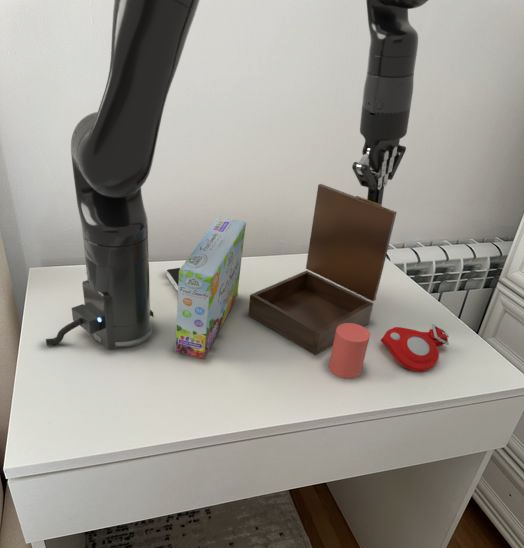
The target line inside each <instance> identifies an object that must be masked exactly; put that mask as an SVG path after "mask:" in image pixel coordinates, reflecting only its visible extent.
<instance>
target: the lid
mask: <svg viewBox="0 0 524 548" xmlns="http://www.w3.org/2000/svg"><path fill="white" fill-rule="evenodd" d="M396 217H397V211H395V210H393V209H390V208H387V207H384V206H383V204H382V205H381V204H378V203H375V202H373V201H370V200H367V198H364V197H361V196H359V195H352V194H350V193H347V192H344V191H341V190H338V189H336V188H333V187H331V186H328V185H326V184H322V183H319V184H317V192H316V197H315V204H314V211H313V217H312V225H311V232H310V236H309V237H310V238H309V244H308V251H307V259H306V264H305V269H306V270H307V271H309V272H311V273H313V274H315V275H317V276H319V277H321V278H323V279H325V280H327V281H329V282H331V283H333V284H335V285H337V286H339V287H341V288H344V289H346V290H348V291H350V292H352V293H354V294H356V295H358V296H360V297H362V298H364V299H366V300H368V301H370V302H375V301H376V298H377V294H378V291H379V287H380V283H381V279H382V276H383V275H382V274H383V270H384V266H385V262H386V258H387V255H388V254H387V253H388V249H389V246H390V241H391V238H392V234H393V230H394V226H395V220H396Z"/></svg>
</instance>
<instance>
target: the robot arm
mask: <svg viewBox="0 0 524 548" xmlns="http://www.w3.org/2000/svg"><path fill="white" fill-rule="evenodd" d="M200 1H201V0H114V1H113V11H112V26H111V44H110V45H111V47H110V60H109V61H110V62H109V71H108V75H107V80H106V84H105V88H104V92H103V95H102V97H101V101H100V104H99V107H98V109H97V111H95V112H92V113H89V114H87V115H85V116H84V117H83V118H81V119H80V121H78V123H77V124H76V126H75V127H74V130H73V131H72V135H71V140H70V155H71V166H72V173H73V181H74V188H75V196H76V205H77V209H78V215H79V219H80V225H81V231H82V241H83V250H84V251H83V252H84V260H85V261H84V262H85V269H86V278H87V279H86V280H84V281H82V282H81V283H82V284H81V285H82V294H83V300H84V301H83V302H84V303H82V304H79V305H76V306H73V307H71V314H72V321H71V322H70V323H68V324H66V325H64V326H63V327H62V328H61V329H59V331H57V332H58V333H57V334H56V336H55V337H53V338H46V339H45V343H46V346H55V345H57V344H60V343H61V342H62V341H63V339H64V337H65V335H66V334H67V333H69V332H71V331H72V330H74V329H75V328H79V326H80V327H81V328H82V329H83V330H85V331H86V332H87V334H88V335H89V336H91V337H92V338H93V339H95V341H96V342H98V343H99V344H100V345H102V346H103V347H104V348H106V349H107V350H110V351H111V350H113V349H116V348H128V347H134V346H137V345H140V344H142V343H144V342H145V341H147V340H148V339H149V338H150V336H151V335H152V331H153V330H152V326H153V325H152V318H154V316H155V315H154V311H153V310H151V288H150V287H151V286H150V264H149V263H150V259H149V258H150V256H149V223H148V222H149V221H148V216H147V212H146V208H145V204H144V199H143V194H142V187H143V186H144V184H145V183H146V181H147V179H148V177H149V175H150V173H151V169H152V166H153V162H154V157H155V152H156V147H157V142H158V137H159V132H160V127H161V123H162V118H163V114H164V109H165V105H166V101H167V98H168V95H169V91H170V90H171V89H170V88H171V86H172V83H173V81H174V78H175V75H176V72H177V69H178V66H179V63H180V61H181V57H182V54H183V52H184V48H185V45H186V41H187V39H188V35H189V32H190V30H191V27H192V25H193V21H194V19H195V16H196V13H197V10H198V7H199V5H200ZM365 2H366V3H365V4H366V13H367V24H368V31H369V37H370V39H369V40H370V41H369V48H368V59H367V68H366V76H365V80H364V84H363V92H362V104H361V114H360V122H359V133H360V135H361V136H362V137H363V139H364V144H363V147H362V150H361V151H362V153H361V154H362V157H361V158H360V160H359V162H358V161H354V162H353V163H352V166H351V169H352V170H353V171H352V172H353V173H354V174H355V177H356V179H357V181H358V183H359V184H360V186H361V187H364V188H367V197H366V199H367V200H370V201H373V202H375V203H378V204H381V205H382V206H383V199H384V192H385V187H386V186H387V185H388V181H392V180H393V178H394V177H395V174H396V172H397V170H398V168H399V166H400V164H401V161H402V159H403V157H404V155H405V154H406V151H407V147H406V146H404V145H401V144H400V140H401V139H403V138H404V137H405V136H406V135H407V134H408V133H407V132H408V127H409V121H410V113H411V107H412V100H413V93H414V77H415V70H416V69H415V68H416V62H417V56H418V49H419V34H418V31H417V30H416V29H415V28H414V27H413V26H412V25H411V23H410V21H409V10H413V9H416V8H419V7H422V6H423V5H425V4H426V3H428V2H429V0H365ZM151 317H152V318H151Z"/></svg>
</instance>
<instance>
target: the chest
mask: <svg viewBox="0 0 524 548" xmlns="http://www.w3.org/2000/svg"><path fill="white" fill-rule="evenodd" d="M248 305H249V306H248V316H249V317H250V318H251V319H253V320H255V321H257V322H259V323H261V324H262V325H263V326H265V327H267V328H269V329H270V330H272V331H274V332H276V333H277V334H278V335H280V336H282V337H284V338H286V339H288V340H289V341H291V342H293V343H294V344H296V345H298V346H299V347H301V348H303V349H304V350H305V351H307V352H309V353H311V354H313V355H314V356H317V355H318V354H321V353H322V352H323V351H325V350H327V349H329V348H330V347H333V343H334V338H335V333H336V329H337V327H338V326H339V325H341V324H344V323H354V324H358V325H361V326H363V327H365V326H366V325H368V324H369V323H370V319H371V315H372V312H373V307H374V302H373V301H371V300H369V299H367V298H365V297H363V296H361V295H359V294H357V293H355V292H353V291H351V290H349V289H346V288H344V287H342V286H340V285H338V284H336V283H334V282H332V281H330V280H328V279H326V278H324V277H322V276H320V275H318V274H316V273H314V272H312V271H310V270H308V269H306V270H304V271H302V272H300V273H297V274H295V275H292V276H290V277H288V278H286V279H283V280H281V281H279V282H277V283H274V284H272V285H270V286H267V287H265V288H262V289H260V290H258V291H256V292H254V293H253V292H252V293H251V294H249V304H248Z"/></svg>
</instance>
